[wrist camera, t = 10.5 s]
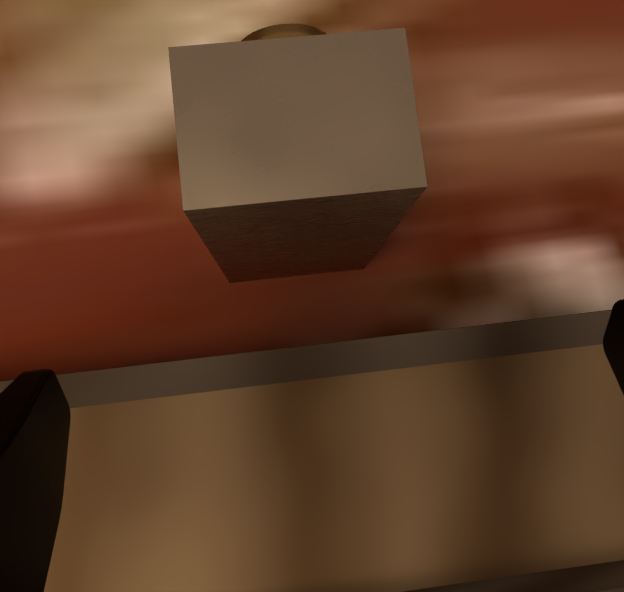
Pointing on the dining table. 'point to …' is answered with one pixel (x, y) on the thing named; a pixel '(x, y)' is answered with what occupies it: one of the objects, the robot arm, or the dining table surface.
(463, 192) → the dining table surface
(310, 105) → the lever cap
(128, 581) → the tan piece
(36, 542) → the robot arm
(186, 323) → the dining table surface
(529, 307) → the dining table surface
